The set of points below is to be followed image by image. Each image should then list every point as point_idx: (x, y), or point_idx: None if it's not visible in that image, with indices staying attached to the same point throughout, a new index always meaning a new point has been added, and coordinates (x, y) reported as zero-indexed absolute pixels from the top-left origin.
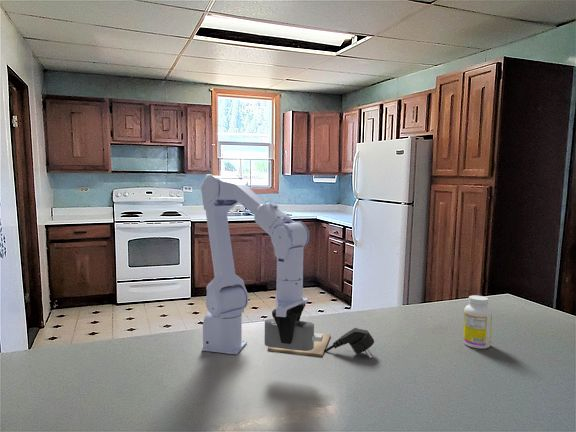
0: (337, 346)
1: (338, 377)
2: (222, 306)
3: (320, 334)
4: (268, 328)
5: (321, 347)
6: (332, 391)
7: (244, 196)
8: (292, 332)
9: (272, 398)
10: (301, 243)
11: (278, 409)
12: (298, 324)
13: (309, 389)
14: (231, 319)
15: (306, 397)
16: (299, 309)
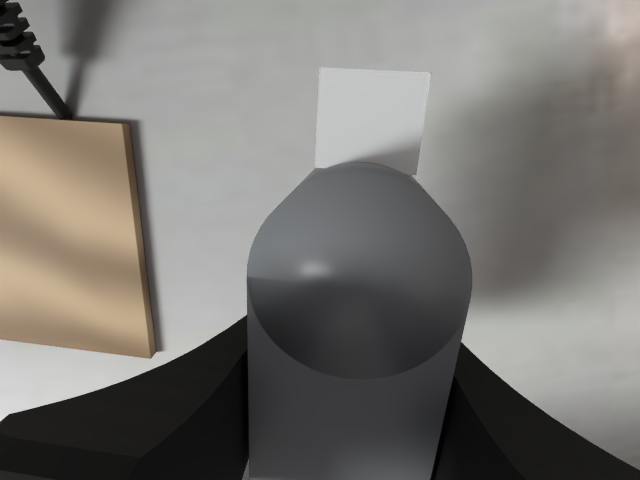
0: (32, 39)
1: (320, 11)
2: None
3: (340, 93)
4: None
5: (47, 137)
6: (469, 27)
7: None
8: (487, 369)
9: (545, 277)
10: None
11: (633, 243)
12: (363, 353)
13: (460, 142)
14: None
15: (533, 146)
16: (178, 475)
